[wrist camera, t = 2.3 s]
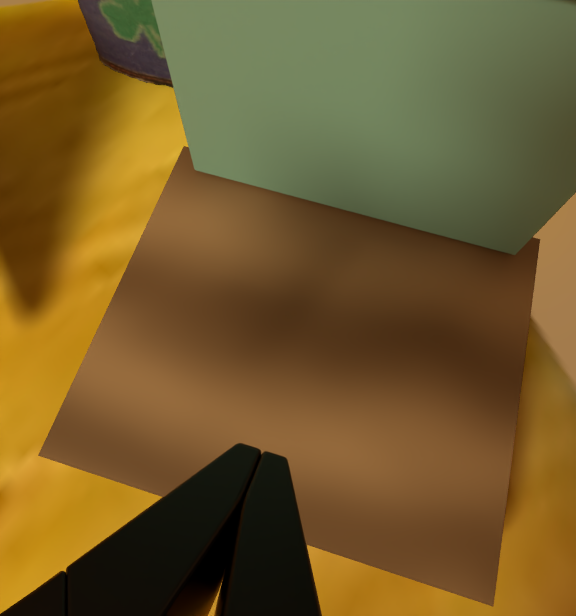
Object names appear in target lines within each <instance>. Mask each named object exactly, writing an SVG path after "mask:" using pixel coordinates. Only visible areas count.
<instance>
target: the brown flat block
mask: <svg viewBox="0 0 576 616" xmlns="http://www.w3.org/2000/svg"><path fill="white" fill-rule="evenodd" d="M539 243H540V239H536V238H533V237H532V238H531V239H530V240H529V241H528V242H527V243H526V244H525V245H524V246H523V247H522V248H521V249H520V250H519V251H518V252H517V253H516V255H512V254H509V253H505V252H501V251H497V250H494V249H490V248H486V247H482V246H479V245H475V244H471V243H467V242H464V241H460V240H456V239H452V238H448V237H445V236H441V235H437V234H433V233H430V232H426V231H422V230H418V229H415V228H411V227H407V226H403V225H400V224H396V223H392V222H388V221H385V220H381V219H377V218H373V217H370V216H366V215H362V214H358V213H355V212H351V211H347V210H343V209H339V208H336V207H332V206H328V205H324V204H321V203H317V202H313V201H309V200H306V199H302V198H298V197H294V196H291V195H287V194H283V193H279V192H276V191H272V190H268V189H264V188H261V187H257V186H253V185H249V184H246V183H242V182H238V181H234V180H231V179H227V178H223V177H219V176H215V175H212V174H208V173H204V172H200V171H197V170H195V169H194V166H193V162H192V158H191V154H190V150H189V147H185V146H184V147H183V149H182V151H181V154H180V156H179V158H178V160H177V162H176V164H175V166H174V168H173V170H172V173H171V175H170V177H169V179H168V181H167V183H166V185H165V187H164V190H163V192H162V194H161V196H160V198H159V200H158V202H157V204H156V207H155V209H154V211H153V213H152V215H151V217H150V219H149V221H148V224H147V226H146V228H145V230H144V232H143V234H142V236H141V238H140V241H139V243H138V245H137V247H136V249H135V251H134V253H133V255H132V258H131V260H130V262H129V264H128V266H127V268H126V270H125V272H124V275H123V277H122V279H121V281H120V283H119V285H118V287H117V289H116V291H115V294H114V296H113V298H112V300H111V302H110V304H109V306H108V308H107V311H106V313H105V315H104V317H103V319H102V321H101V323H100V325H99V328H98V330H97V332H96V334H95V336H94V338H93V340H92V342H91V345H90V347H89V349H88V351H87V353H86V355H85V357H84V359H83V362H82V364H81V366H80V368H79V370H78V372H77V374H76V376H75V379H74V381H73V383H72V385H71V387H70V389H69V391H68V393H67V396H66V398H65V400H64V402H63V404H62V406H61V408H60V410H59V412H58V415H57V417H56V419H55V421H54V423H53V425H52V427H51V429H50V432H49V434H48V436H47V438H46V440H45V442H44V444H43V446H42V449H41V451H40V453H39V455H38V456H41V457H44V458H47V459H50V460H53V461H56V462H59V463H62V464H65V465H68V466H71V467H74V468H77V469H80V470H83V471H86V472H89V473H92V474H95V475H98V476H101V477H104V478H108V479H111V480H114V481H117V482H120V483H123V484H126V485H129V486H132V487H135V488H138V489H141V490H144V491H147V492H150V493H153V494H156V495H159V496H162V497H164V496H165V495H167V494H168V493H169V492H171V491H172V490H173V489H175V488H176V487H178V486H179V485H180V484H182V483H183V482H184V481H186V480H187V479H189V478H190V477H191V476H193V475H194V474H195V473H197V472H198V471H200V470H201V469H202V468H204V467H205V466H206V465H208V464H209V463H211V462H212V461H213V460H215V459H216V458H217V457H219V456H220V455H222V454H223V453H224V452H226V451H227V450H228V449H230V448H231V447H233V446H234V445H235V444H237V443H243V444H246V445H249V446H253V447H256V448H259V449H260V450H261V454H262V453H263V452H264V451H268V452H272V453H275V454H278V455H281V456H284V457H286V458H287V460H288V463H289V467H290V472H291V477H292V481H293V486H294V490H295V495H296V500H297V504H298V509H299V513H300V518H301V522H302V527H303V532H304V536H305V541H306V544H307V545H310V546H313V547H316V548H319V549H322V550H325V551H328V552H331V553H334V554H337V555H340V556H343V557H346V558H349V559H352V560H355V561H358V562H361V563H364V564H367V565H370V566H373V567H376V568H379V569H382V570H385V571H388V572H391V573H394V574H397V575H400V576H403V577H406V578H409V579H412V580H415V581H418V582H421V583H424V584H427V585H430V586H433V587H436V588H439V589H442V590H445V591H448V592H451V593H454V594H457V595H460V596H463V597H466V598H469V599H472V600H475V601H478V602H481V603H484V604H487V605H490V606H493V604H494V596H495V589H496V581H497V573H498V565H499V557H500V549H501V541H502V534H503V526H504V518H505V510H506V502H507V494H508V487H509V479H510V471H511V463H512V455H513V447H514V439H515V432H516V424H517V416H518V408H519V400H520V392H521V385H522V377H523V369H524V361H525V353H526V345H527V337H528V330H529V322H530V314H531V306H532V298H533V290H534V282H535V274H536V266H537V258H538V251H539Z"/></svg>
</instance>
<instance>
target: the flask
mask: <svg viewBox="0 0 576 616" xmlns="http://www.w3.org/2000/svg"><path fill="white" fill-rule="evenodd" d="M78 2H79V6H80V9H81V11H82V13H83V16H84V18H85V20H86V23H87V26H88V29H89V31H90V34H91V36H92V38H93V41H94V43H95V46H96V50H97V52H98V54H99V59H100V60H101V62H102V63H103V64H104V65H105V66H108V67H109V68H110V69H112V70H114V71H117V72H119V73H122V74H125V75H127V76H129V77H132V78H133V77H135V78H137V79H138V80H140V81H144V82H146V83H147V82H150V83H154V84H156V85H157V84H158V85H159V84H163V85H167V86H170V87H173V83H172V79H171V75H170V72H169V68H168V64H167V60H166V56H165V52H164V48H163V44H162V40H161V36H160V32H159V28H158V25H157V21H156V17H155V13H154V9H153V5H152V1H151V0H78Z"/></svg>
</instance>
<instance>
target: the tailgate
mask: <svg viewBox="0 0 576 616" xmlns="http://www.w3.org/2000/svg"><path fill="white" fill-rule="evenodd" d="M151 1H152V5H153V9H154V13H155V17H156V21H157V25H158V28H159V32H160V36H161V40H162V44H163V48H164V52H165V56H166V60H167V64H168V68H169V72H170V75H171V79H172V83H173V87H174V91H175V95H176V99H177V103H178V107H179V111H180V115H181V119H182V122H183V126H184V130H185V134H186V138H187V142H188V146H189V150H190V154H191V158H192V162H193V166H194V169H195V170H197V171H200V172H204V173H208V174H212V175H215V176H219V177H223V178H227V179H231V180H234V181H238V182H242V183H246V184H249V185H253V186H257V187H261V188H264V189H268V190H272V191H276V192H279V193H283V194H287V195H291V196H294V197H298V198H302V199H306V200H309V201H313V202H317V203H321V204H324V205H328V206H332V207H336V208H339V209H343V210H347V211H351V212H355V213H358V214H362V215H366V216H370V217H373V218H377V219H381V220H385V221H388V222H392V223H396V224H400V225H403V226H407V227H411V228H415V229H418V230H422V231H426V232H430V233H433V234H437V235H441V236H445V237H448V238H452V239H456V240H460V241H464V242H467V243H471V244H475V245H479V246H482V247H486V248H490V249H494V250H497V251H501V252H505V253H509V254H512V255H516V253H517V252H518V251H519V250H520V249H521V248H522V247H523V246H524V245H525V244H526V243H527V242H528V241H529V240H530V239H531V238H532V237H533V236H534V235H535V234H536V233H537V232H538V231H539V230H540V229H541V228H542V227H543V226H544V225H545V224H546V222H547V221H548V220H549V219H550V218H551V217H552V216H553V215H554V214H555V213H556V212H557V211H558V210H559V209H560V208H561V207H562V206H563V205H564V204H565V203H566V202H567V201H568V199H570V198H571V197H572V196H573V195H574V194H575V192H576V0H151Z"/></svg>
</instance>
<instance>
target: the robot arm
mask: <svg viewBox="0 0 576 616" xmlns="http://www.w3.org/2000/svg"><path fill="white" fill-rule="evenodd" d="M222 580H223V581H222ZM221 583H222V585H221ZM220 586H221V589H220V593H219V597H218V601H217V605H216V610H215V614H214V616H322V614H321V609H320V605H319V600H318V596H317V591H316V586H315V582H314V577H313V573H312V568H311V564H310V559H309V554H308V550H307V545H306V541H305V536H304V532H303V527H302V522H301V518H300V513H299V509H298V504H297V500H296V495H295V490H294V486H293V481H292V477H291V472H290V467H289V463H288V460H287V458H286V457H284V456H281V455H278V454H275V453H272V452H268V451H264V452H263V453H262V454H261V450H260V449H259V448H256V447H253V446H249V445H246V444H243V443H237V444H235V445H234V446H233V447H231V448H230V449H228V450H227V451H226V452H224V453H223V454H222V455H220V456H219V457H217V458H216V459H215V460H213V461H212V462H211V463H209V464H208V465H206V466H205V467H204V468H202V469H201V470H200V471H198V472H197V473H195V474H194V475H193V476H191V477H190V478H189V479H187V480H186V481H184V482H183V483H182V484H180V485H179V486H178V487H176V488H175V489H173V490H172V491H171V492H169V493H168V494H167V495H165V496H164V497H162V498H161V499H160V500H158V501H157V502H156V503H154V504H153V505H151V506H150V507H149V508H147V509H146V510H145V511H143V512H142V513H140V514H139V515H138V516H136V517H135V518H134V519H132V520H131V521H129V522H128V523H127V524H125V525H124V526H123V527H121V528H120V529H118V530H117V531H116V532H114V533H113V534H112V535H110V536H109V537H107V538H106V539H105V540H103V541H102V542H101V543H99V544H98V545H96V546H95V547H94V548H92V549H91V550H90V551H88V552H87V553H85V554H84V555H83V556H81V557H80V558H79V559H77V560H76V561H74V562H73V563H72V564H70V565H69V566H68V567H67V568H66V573H65V572H64V571H60V572H59V573H57V574H56V575H55V576H53V577H52V578H51V579H49V580H48V581H47V582H45V583H44V584H43V585H41V586H40V587H38V588H37V589H36V590H34V591H33V592H31V593H30V594H28V595H27V596H26V597H24V598H23V599H21V600H20V601H18V602H17V603H15V604H14V605H13V606H11V607H10V608H8V609H7V610H5V611H4V612H2V613H1V614H0V616H208V614H209V611H210V609H211V607H212V605H213V603H214V600H215V598H216V596H217V593H218V591H219V588H220Z"/></svg>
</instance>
